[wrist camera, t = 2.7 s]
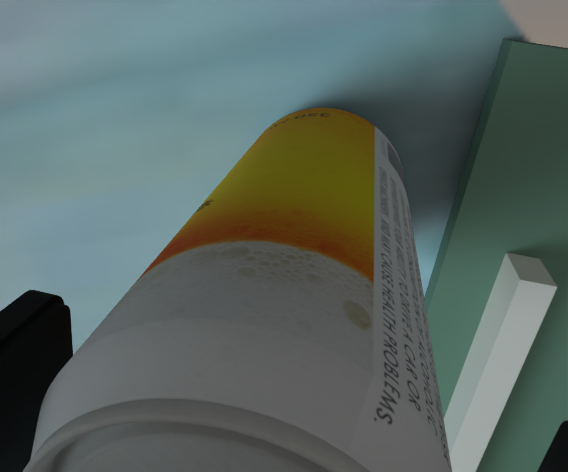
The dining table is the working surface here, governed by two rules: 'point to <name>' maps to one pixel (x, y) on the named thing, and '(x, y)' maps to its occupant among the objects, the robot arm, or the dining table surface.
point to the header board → (507, 272)
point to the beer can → (266, 327)
